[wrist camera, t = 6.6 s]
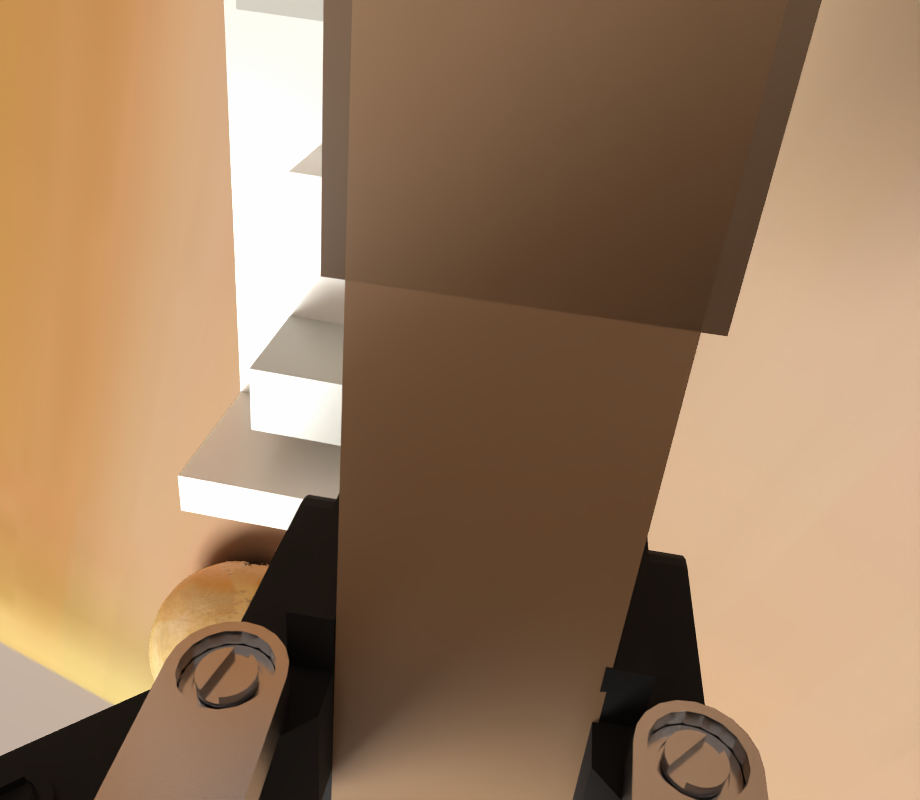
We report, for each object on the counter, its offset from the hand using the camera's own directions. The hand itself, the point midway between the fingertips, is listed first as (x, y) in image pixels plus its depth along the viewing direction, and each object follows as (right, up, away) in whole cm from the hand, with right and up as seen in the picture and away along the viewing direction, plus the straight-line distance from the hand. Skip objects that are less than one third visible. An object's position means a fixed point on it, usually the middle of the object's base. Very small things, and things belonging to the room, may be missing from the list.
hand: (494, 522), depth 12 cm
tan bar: (0, +1, +1) cm, 1 cm away
